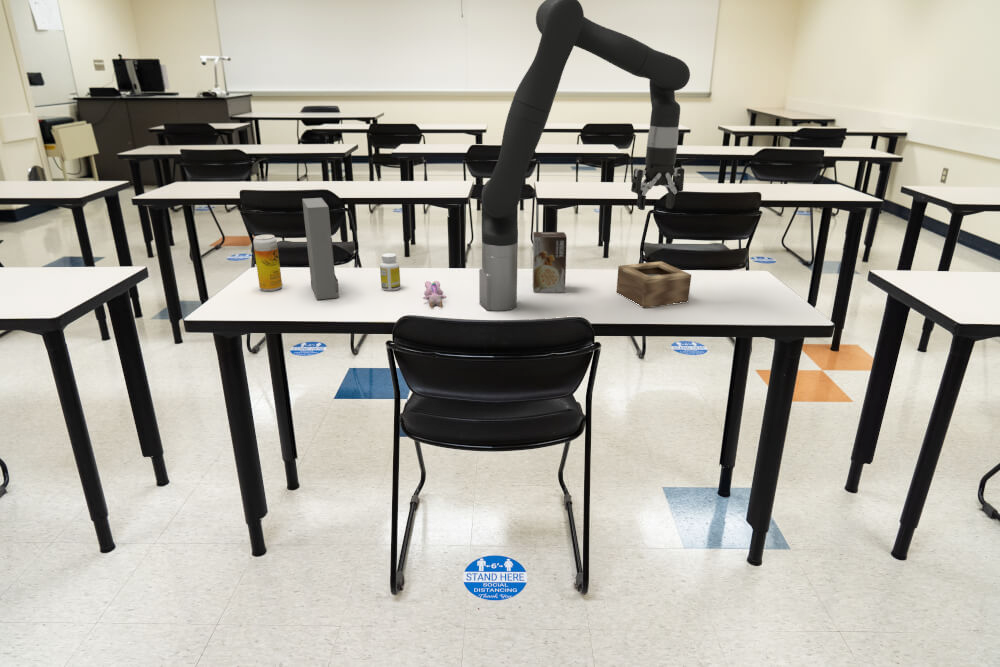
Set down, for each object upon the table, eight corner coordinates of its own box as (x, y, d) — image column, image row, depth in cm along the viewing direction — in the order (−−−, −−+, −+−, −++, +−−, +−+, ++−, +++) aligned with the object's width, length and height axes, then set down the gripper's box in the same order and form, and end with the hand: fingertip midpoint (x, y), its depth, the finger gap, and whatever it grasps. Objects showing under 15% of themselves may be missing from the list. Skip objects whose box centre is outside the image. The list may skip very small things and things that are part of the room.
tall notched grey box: (340, 298, 176) (331, 206, 166) (317, 300, 174) (307, 208, 164) (332, 283, 188) (324, 197, 178) (311, 286, 186) (301, 198, 176)
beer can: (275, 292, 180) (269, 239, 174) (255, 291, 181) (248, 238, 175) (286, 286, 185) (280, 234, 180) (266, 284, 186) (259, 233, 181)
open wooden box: (643, 308, 170) (646, 280, 167) (616, 292, 182) (618, 265, 179) (688, 302, 175) (691, 274, 172) (658, 287, 187) (661, 261, 184)
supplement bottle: (402, 285, 187) (400, 252, 183) (398, 291, 182) (397, 257, 178) (383, 285, 187) (381, 252, 183) (379, 291, 182) (377, 257, 178)
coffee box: (563, 286, 187) (565, 231, 181) (565, 293, 181) (567, 237, 175) (531, 285, 187) (533, 231, 181) (532, 292, 181) (534, 236, 175)
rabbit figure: (448, 312, 170) (442, 286, 183) (448, 292, 167) (442, 267, 180) (424, 313, 169) (420, 287, 182) (423, 293, 166) (419, 268, 179)
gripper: (646, 147, 158) (639, 213, 164) (694, 146, 163) (686, 210, 169) (630, 144, 165) (624, 207, 171) (677, 143, 169) (669, 204, 175)
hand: (655, 208), depth 170 cm, fingers open, 8 cm apart
